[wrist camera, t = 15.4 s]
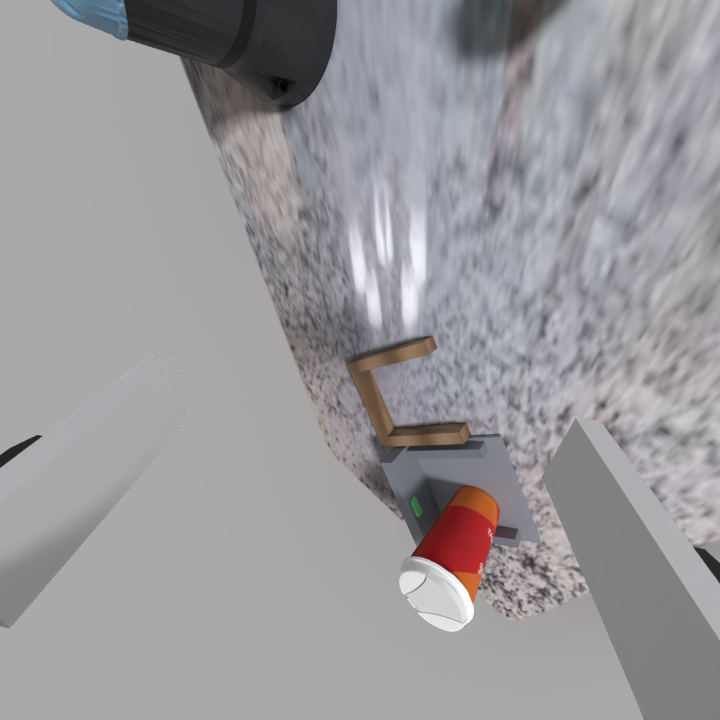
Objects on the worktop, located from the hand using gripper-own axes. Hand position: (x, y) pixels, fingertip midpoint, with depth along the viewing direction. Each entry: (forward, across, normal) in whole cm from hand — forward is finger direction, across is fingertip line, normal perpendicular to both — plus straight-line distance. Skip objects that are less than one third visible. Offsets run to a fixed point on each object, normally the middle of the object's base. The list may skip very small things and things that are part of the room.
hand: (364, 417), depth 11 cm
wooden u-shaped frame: (+29, +5, -20) cm, 35 cm away
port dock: (+24, +14, -30) cm, 41 cm away
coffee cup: (+22, +16, -31) cm, 41 cm away
